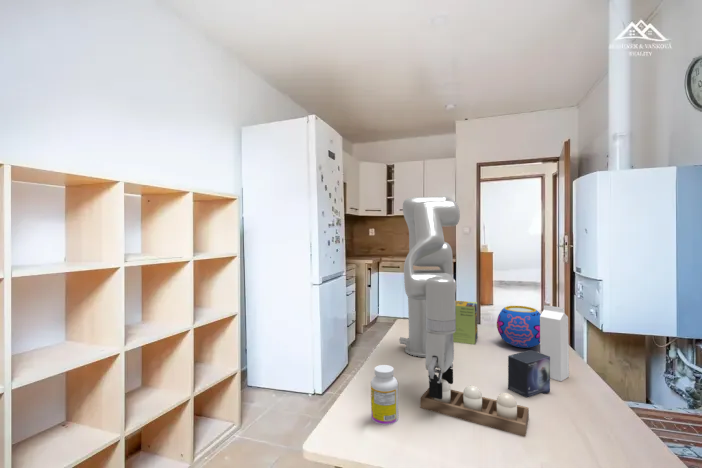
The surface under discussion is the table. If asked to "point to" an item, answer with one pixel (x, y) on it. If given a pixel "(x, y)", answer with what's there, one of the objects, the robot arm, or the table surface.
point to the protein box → (466, 322)
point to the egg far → (507, 406)
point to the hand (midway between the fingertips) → (441, 389)
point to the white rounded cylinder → (445, 392)
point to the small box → (529, 373)
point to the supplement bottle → (384, 396)
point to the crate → (478, 412)
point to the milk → (555, 341)
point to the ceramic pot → (519, 326)
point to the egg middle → (472, 398)
